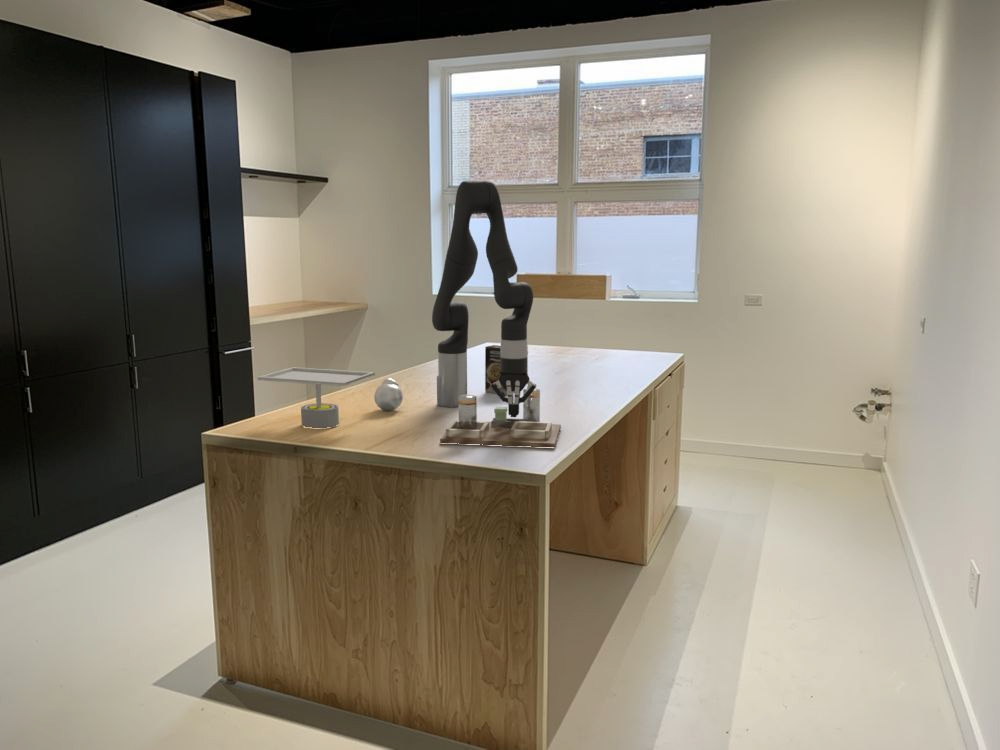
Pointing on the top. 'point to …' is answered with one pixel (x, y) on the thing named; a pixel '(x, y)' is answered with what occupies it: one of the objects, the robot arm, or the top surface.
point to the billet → (532, 406)
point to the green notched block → (500, 413)
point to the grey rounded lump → (388, 395)
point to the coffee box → (492, 367)
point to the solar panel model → (318, 391)
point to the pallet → (505, 433)
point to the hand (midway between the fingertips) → (513, 416)
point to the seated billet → (468, 412)
